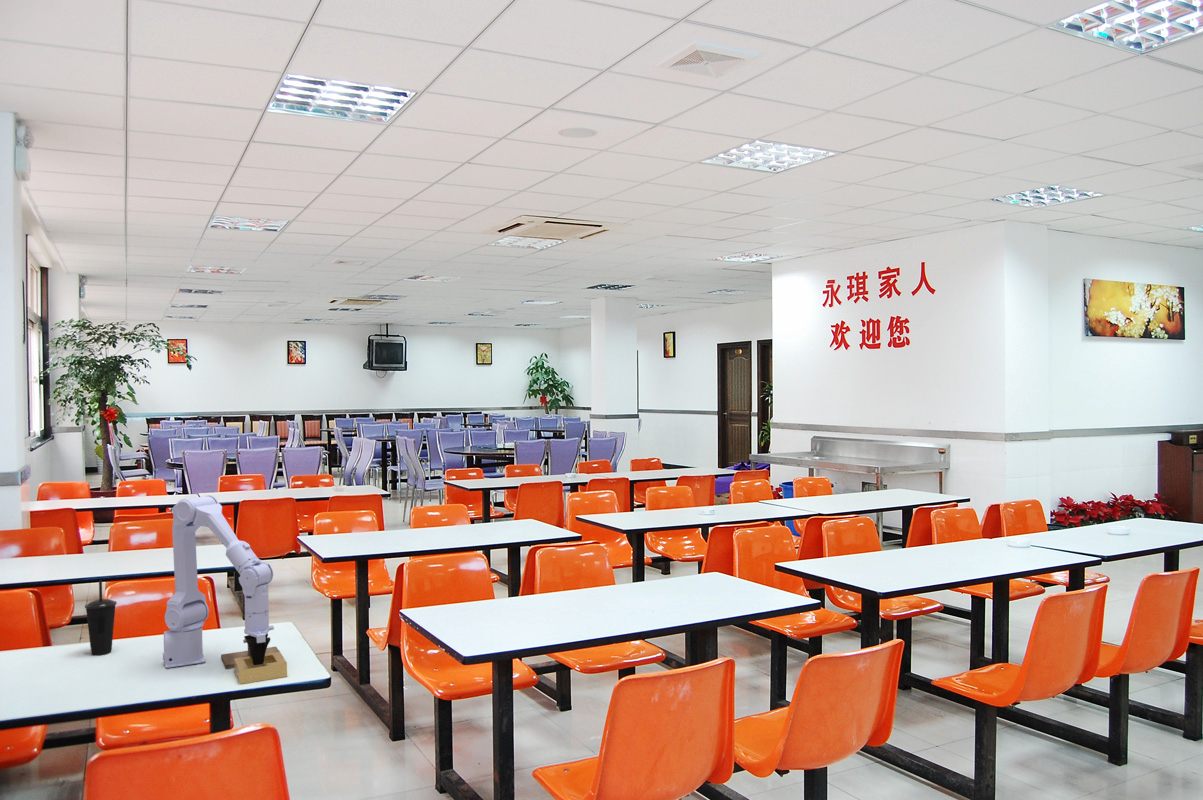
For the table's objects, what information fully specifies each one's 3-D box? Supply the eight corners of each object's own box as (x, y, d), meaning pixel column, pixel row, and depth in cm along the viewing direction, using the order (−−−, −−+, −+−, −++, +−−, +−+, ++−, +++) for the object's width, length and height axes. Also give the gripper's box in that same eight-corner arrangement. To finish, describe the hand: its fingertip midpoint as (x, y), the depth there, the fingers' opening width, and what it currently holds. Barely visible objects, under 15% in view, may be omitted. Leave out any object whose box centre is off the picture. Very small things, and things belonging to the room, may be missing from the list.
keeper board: (225, 669, 224) (225, 647, 224) (221, 658, 233) (220, 637, 233) (283, 660, 230) (282, 639, 230) (276, 650, 240) (275, 629, 240)
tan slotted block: (239, 684, 211) (239, 670, 211) (234, 672, 221) (233, 658, 221) (287, 676, 217) (286, 662, 217) (279, 665, 226) (279, 651, 226)
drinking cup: (123, 649, 242) (122, 578, 242) (101, 657, 235) (100, 584, 235) (101, 648, 244) (100, 577, 244) (78, 656, 237) (77, 583, 237)
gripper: (277, 615, 218) (278, 669, 218) (268, 603, 231) (269, 654, 231) (247, 619, 215) (248, 673, 215) (240, 607, 227) (241, 658, 227)
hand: (257, 664), depth 223 cm, fingers closed on tan slotted block, 2 cm apart
